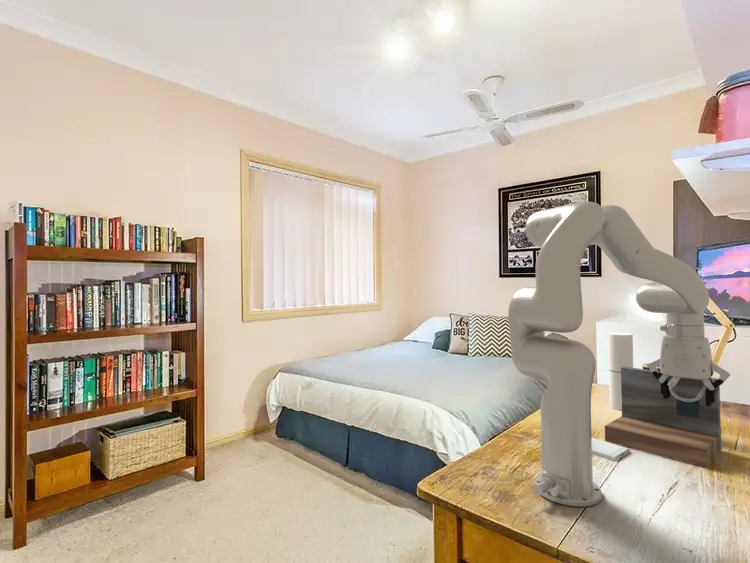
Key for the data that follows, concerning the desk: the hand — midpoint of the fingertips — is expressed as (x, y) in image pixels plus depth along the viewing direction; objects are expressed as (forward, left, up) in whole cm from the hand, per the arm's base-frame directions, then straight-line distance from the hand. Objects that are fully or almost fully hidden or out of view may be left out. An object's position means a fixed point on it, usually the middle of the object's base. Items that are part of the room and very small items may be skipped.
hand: (687, 401), depth 104 cm
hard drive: (-14, +16, -14) cm, 25 cm away
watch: (0, 0, -3) cm, 3 cm away
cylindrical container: (+27, +25, -13) cm, 39 cm away
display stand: (0, +6, -13) cm, 14 cm away
